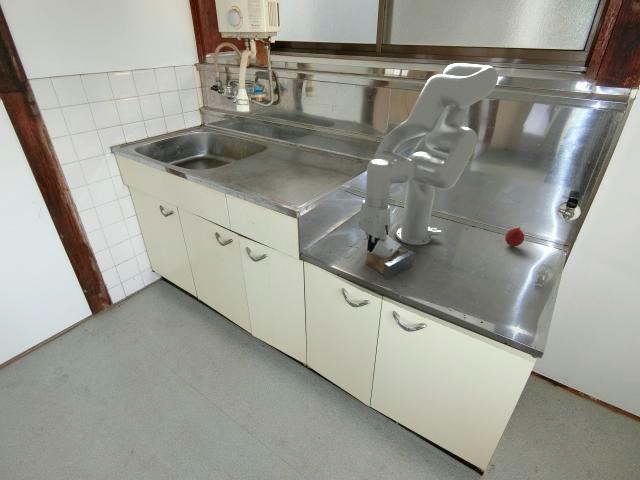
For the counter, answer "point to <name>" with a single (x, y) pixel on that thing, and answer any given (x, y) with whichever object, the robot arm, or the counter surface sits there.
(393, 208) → the counter surface
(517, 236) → the onion
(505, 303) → the counter surface
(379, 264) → the caddy
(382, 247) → the skincare box
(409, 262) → the backstop rail
